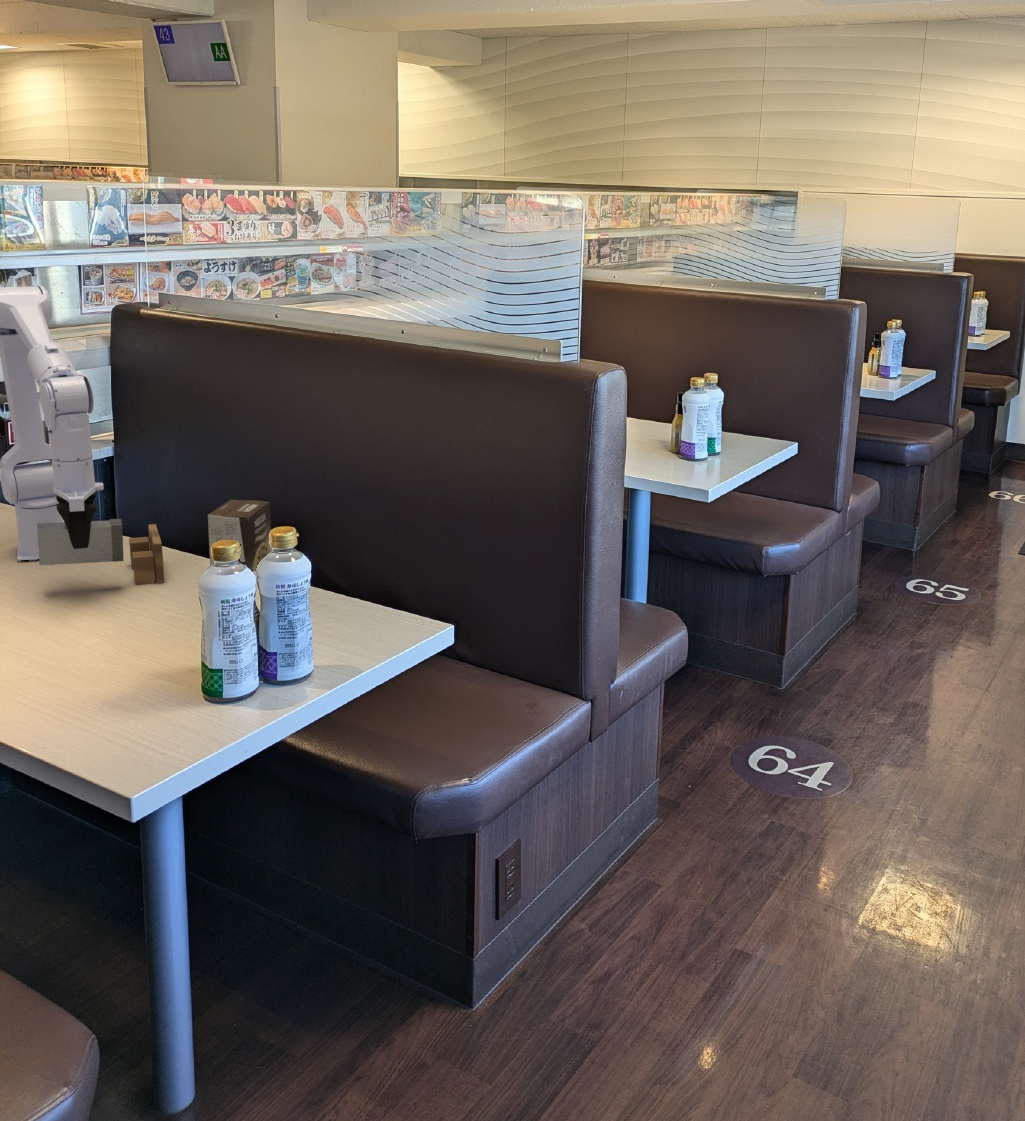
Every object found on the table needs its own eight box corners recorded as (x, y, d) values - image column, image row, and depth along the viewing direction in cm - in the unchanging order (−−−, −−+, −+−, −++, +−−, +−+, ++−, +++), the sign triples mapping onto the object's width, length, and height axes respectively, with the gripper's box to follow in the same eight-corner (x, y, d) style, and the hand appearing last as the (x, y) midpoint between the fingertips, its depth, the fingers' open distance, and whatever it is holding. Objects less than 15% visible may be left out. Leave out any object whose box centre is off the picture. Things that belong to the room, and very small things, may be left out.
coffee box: (253, 623, 164) (248, 517, 159) (211, 619, 165) (205, 514, 160) (275, 601, 172) (271, 500, 167) (235, 597, 173) (230, 497, 168)
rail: (39, 558, 172) (37, 521, 170) (122, 554, 176) (120, 518, 174) (39, 565, 169) (36, 528, 167) (123, 561, 173) (122, 525, 171)
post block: (130, 563, 187) (127, 526, 185) (158, 561, 188) (155, 524, 186) (135, 585, 177) (132, 546, 175) (164, 582, 179) (161, 543, 176)
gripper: (102, 467, 162) (110, 556, 167) (98, 444, 175) (105, 527, 179) (50, 470, 160) (59, 560, 164) (49, 447, 172) (58, 531, 177)
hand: (80, 543), depth 171 cm, fingers closed on rail, 3 cm apart
